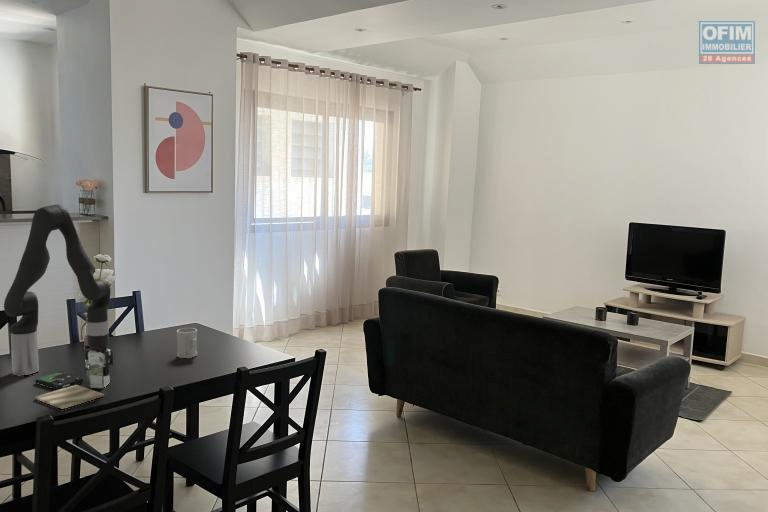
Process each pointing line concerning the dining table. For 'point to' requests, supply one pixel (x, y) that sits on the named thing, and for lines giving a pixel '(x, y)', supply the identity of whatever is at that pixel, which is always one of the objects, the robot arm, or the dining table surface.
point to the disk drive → (59, 380)
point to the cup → (187, 342)
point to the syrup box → (96, 370)
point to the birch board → (69, 396)
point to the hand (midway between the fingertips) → (99, 373)
